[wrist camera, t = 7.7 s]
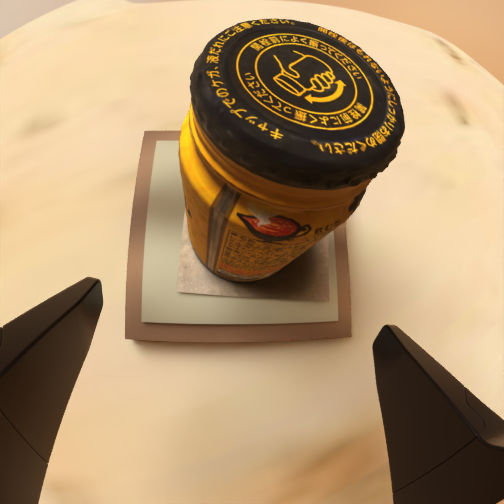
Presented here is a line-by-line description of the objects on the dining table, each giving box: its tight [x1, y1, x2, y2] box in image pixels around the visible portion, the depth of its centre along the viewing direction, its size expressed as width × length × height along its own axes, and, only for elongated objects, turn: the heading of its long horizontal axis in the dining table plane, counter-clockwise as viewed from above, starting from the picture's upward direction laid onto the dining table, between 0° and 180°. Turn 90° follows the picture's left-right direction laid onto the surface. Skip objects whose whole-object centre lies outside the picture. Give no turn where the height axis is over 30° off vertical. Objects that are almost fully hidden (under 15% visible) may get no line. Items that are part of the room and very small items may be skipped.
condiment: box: [176, 19, 405, 302], centre depth 12 cm, size 7×8×12 cm
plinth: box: [125, 131, 351, 342], centre depth 18 cm, size 13×13×2 cm
